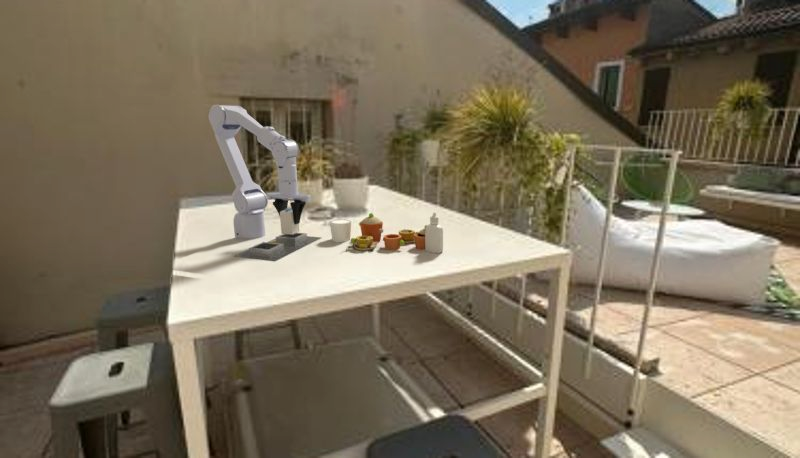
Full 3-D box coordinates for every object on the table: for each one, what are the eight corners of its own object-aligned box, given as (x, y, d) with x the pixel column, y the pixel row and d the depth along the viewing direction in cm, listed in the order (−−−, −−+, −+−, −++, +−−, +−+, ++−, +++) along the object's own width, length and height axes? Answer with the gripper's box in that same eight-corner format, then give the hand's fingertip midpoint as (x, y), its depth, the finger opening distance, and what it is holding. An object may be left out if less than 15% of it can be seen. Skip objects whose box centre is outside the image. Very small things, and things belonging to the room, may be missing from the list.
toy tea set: (349, 252, 129) (348, 221, 126) (355, 238, 144) (354, 210, 141) (435, 252, 128) (436, 221, 126) (432, 238, 143) (432, 210, 141)
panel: (233, 259, 121) (232, 249, 120) (285, 237, 145) (285, 228, 144) (275, 264, 117) (274, 254, 116) (322, 240, 140) (321, 231, 140)
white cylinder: (348, 245, 134) (347, 224, 133) (327, 244, 136) (326, 223, 134) (354, 240, 141) (354, 219, 139) (335, 239, 142) (334, 218, 140)
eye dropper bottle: (437, 248, 132) (437, 210, 129) (444, 253, 126) (444, 213, 123) (423, 249, 130) (424, 211, 127) (430, 254, 125) (430, 214, 122)
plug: (281, 233, 134) (279, 209, 132) (288, 230, 137) (286, 206, 135) (292, 234, 132) (290, 210, 130) (299, 231, 136) (297, 207, 134)
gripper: (259, 181, 130) (263, 224, 133) (301, 182, 125) (303, 227, 129) (273, 178, 136) (276, 219, 140) (313, 179, 132) (315, 222, 135)
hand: (290, 223), depth 135 cm, fingers closed on plug, 4 cm apart
